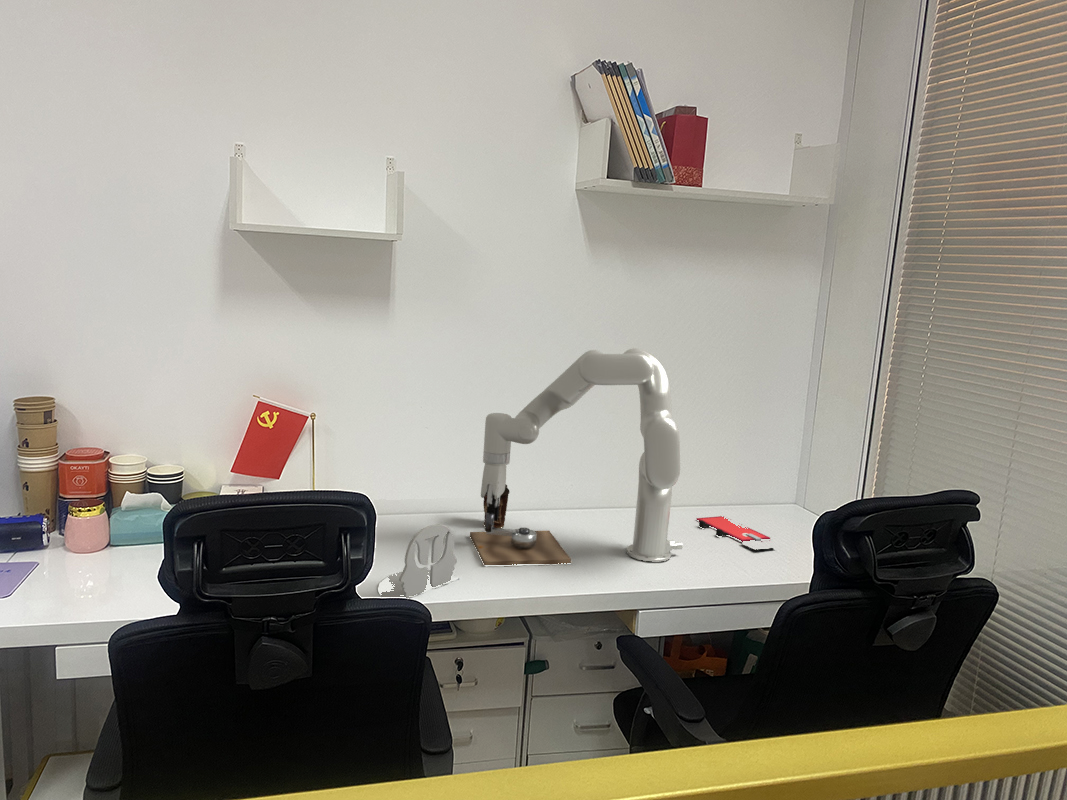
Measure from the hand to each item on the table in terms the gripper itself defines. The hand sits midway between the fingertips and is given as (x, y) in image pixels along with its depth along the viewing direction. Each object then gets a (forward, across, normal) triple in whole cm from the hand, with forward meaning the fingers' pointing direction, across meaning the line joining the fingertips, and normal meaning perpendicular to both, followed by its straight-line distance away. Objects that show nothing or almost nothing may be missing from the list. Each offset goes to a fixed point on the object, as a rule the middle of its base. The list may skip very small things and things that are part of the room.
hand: (492, 519), depth 228 cm
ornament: (+8, +35, -11) cm, 37 cm away
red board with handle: (+8, -39, +70) cm, 80 cm away
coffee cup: (+8, -15, -3) cm, 17 cm away
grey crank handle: (+5, +3, +6) cm, 8 cm away
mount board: (+7, +2, +9) cm, 11 cm away
